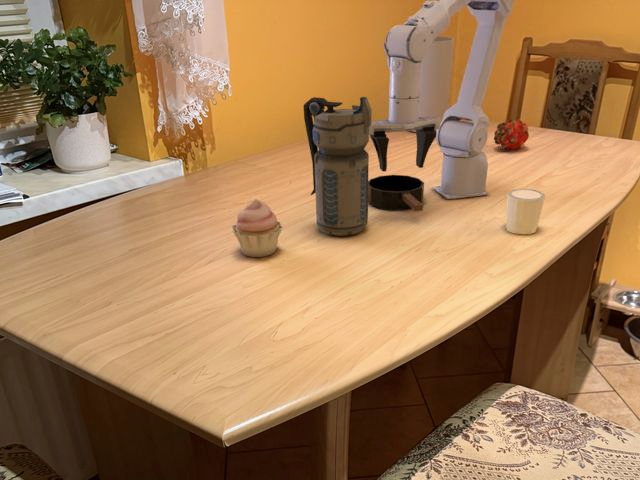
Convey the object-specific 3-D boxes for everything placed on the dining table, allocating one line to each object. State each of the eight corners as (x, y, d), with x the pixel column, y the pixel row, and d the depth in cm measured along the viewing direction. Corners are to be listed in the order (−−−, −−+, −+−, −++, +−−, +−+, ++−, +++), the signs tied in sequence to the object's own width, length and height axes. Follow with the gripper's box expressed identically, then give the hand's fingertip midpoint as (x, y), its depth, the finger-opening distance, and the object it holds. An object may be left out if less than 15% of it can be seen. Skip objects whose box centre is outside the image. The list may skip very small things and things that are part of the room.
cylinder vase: (404, 133, 191) (408, 41, 178) (406, 124, 201) (411, 36, 188) (447, 134, 189) (454, 41, 176) (447, 124, 199) (454, 36, 186)
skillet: (360, 195, 144) (360, 177, 142) (410, 190, 146) (411, 172, 144) (389, 226, 127) (390, 207, 125) (445, 220, 129) (447, 201, 127)
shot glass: (540, 224, 126) (546, 189, 122) (538, 237, 120) (544, 201, 117) (504, 221, 128) (509, 187, 124) (501, 233, 122) (505, 198, 119)
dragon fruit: (493, 159, 171) (516, 156, 179) (520, 144, 164) (542, 142, 172) (482, 129, 171) (506, 128, 179) (508, 113, 164) (532, 112, 172)
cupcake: (243, 265, 113) (237, 211, 108) (228, 247, 120) (222, 195, 115) (292, 255, 116) (289, 202, 111) (274, 238, 123) (271, 187, 118)
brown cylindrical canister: (321, 215, 133) (318, 88, 120) (379, 224, 128) (382, 92, 115) (296, 231, 126) (290, 98, 113) (356, 242, 120) (357, 103, 107)
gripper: (373, 103, 115) (372, 177, 122) (448, 97, 118) (443, 170, 125) (362, 96, 121) (362, 167, 128) (434, 90, 124) (430, 160, 131)
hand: (401, 168), depth 127 cm, fingers open, 7 cm apart
